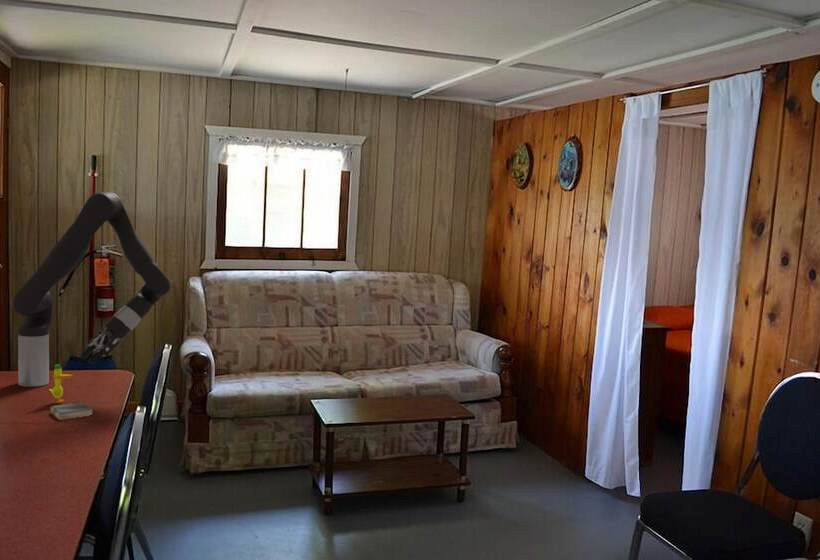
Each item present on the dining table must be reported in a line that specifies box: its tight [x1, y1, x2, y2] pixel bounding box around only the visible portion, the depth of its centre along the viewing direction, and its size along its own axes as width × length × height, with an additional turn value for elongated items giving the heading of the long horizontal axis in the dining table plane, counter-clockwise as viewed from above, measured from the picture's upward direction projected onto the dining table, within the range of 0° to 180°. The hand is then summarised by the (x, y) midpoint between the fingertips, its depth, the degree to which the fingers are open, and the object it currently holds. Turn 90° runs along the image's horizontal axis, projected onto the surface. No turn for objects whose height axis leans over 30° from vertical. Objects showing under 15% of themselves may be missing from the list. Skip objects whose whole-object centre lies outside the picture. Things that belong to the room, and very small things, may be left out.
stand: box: [50, 401, 93, 421], centre depth 209 cm, size 9×9×2 cm
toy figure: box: [48, 363, 73, 404], centre depth 221 cm, size 7×4×12 cm, turn 110°
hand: (86, 360), depth 225 cm, fingers open, 8 cm apart
